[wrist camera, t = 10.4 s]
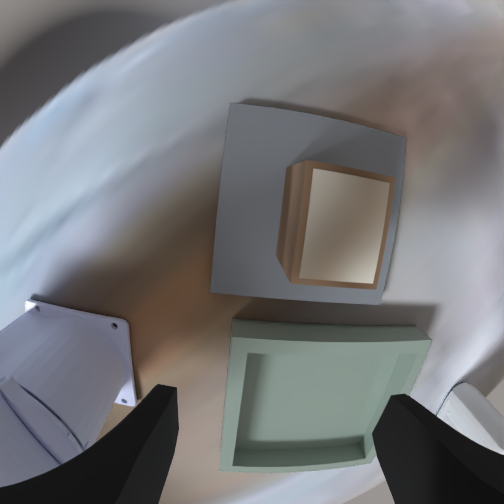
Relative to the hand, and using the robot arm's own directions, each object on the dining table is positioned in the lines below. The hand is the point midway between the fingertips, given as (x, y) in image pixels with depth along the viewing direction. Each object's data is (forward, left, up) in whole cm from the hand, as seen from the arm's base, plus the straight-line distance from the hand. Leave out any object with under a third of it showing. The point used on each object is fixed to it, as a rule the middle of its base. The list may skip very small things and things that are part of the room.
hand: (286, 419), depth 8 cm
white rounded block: (+22, -13, -11) cm, 28 cm away
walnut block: (+2, +6, -9) cm, 11 cm away
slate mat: (+2, +6, -10) cm, 12 cm away
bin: (+5, -8, -10) cm, 14 cm away
